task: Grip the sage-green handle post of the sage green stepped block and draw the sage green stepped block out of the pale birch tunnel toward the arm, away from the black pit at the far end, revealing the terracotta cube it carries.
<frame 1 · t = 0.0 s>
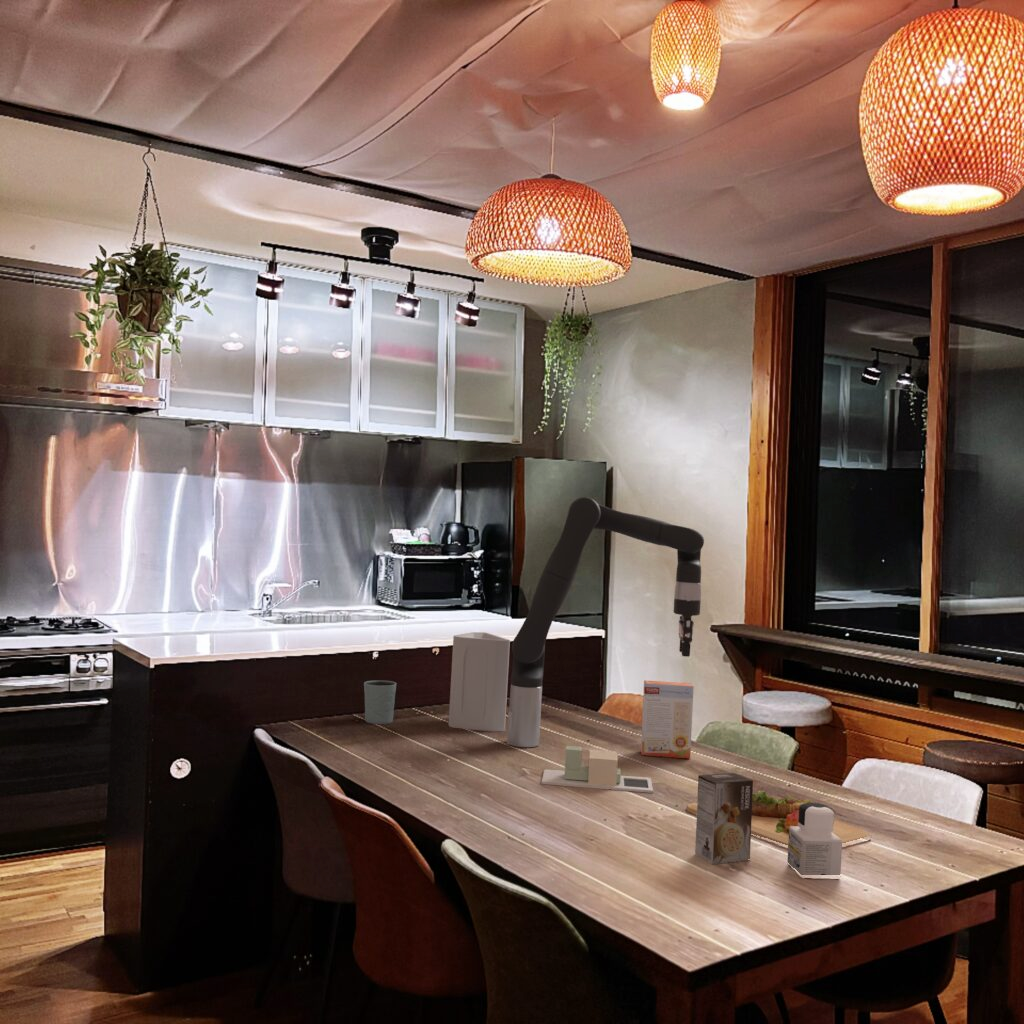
hand: (684, 654, 276), 29 cm above the table, tool pointing down, fingers open, 8 cm apart
container: (813, 873, 186), on the table
cracker box: (664, 755, 276), on the table
coffee box: (721, 858, 192), on the table
white base plate: (602, 782, 243), on the table
sage green stepped block: (593, 763, 243), point 4 cm above the table, slide at 0.0 cm
cutting board: (775, 827, 216), on the table
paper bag: (471, 725, 302), on the table
grey green cup: (378, 721, 301), on the table
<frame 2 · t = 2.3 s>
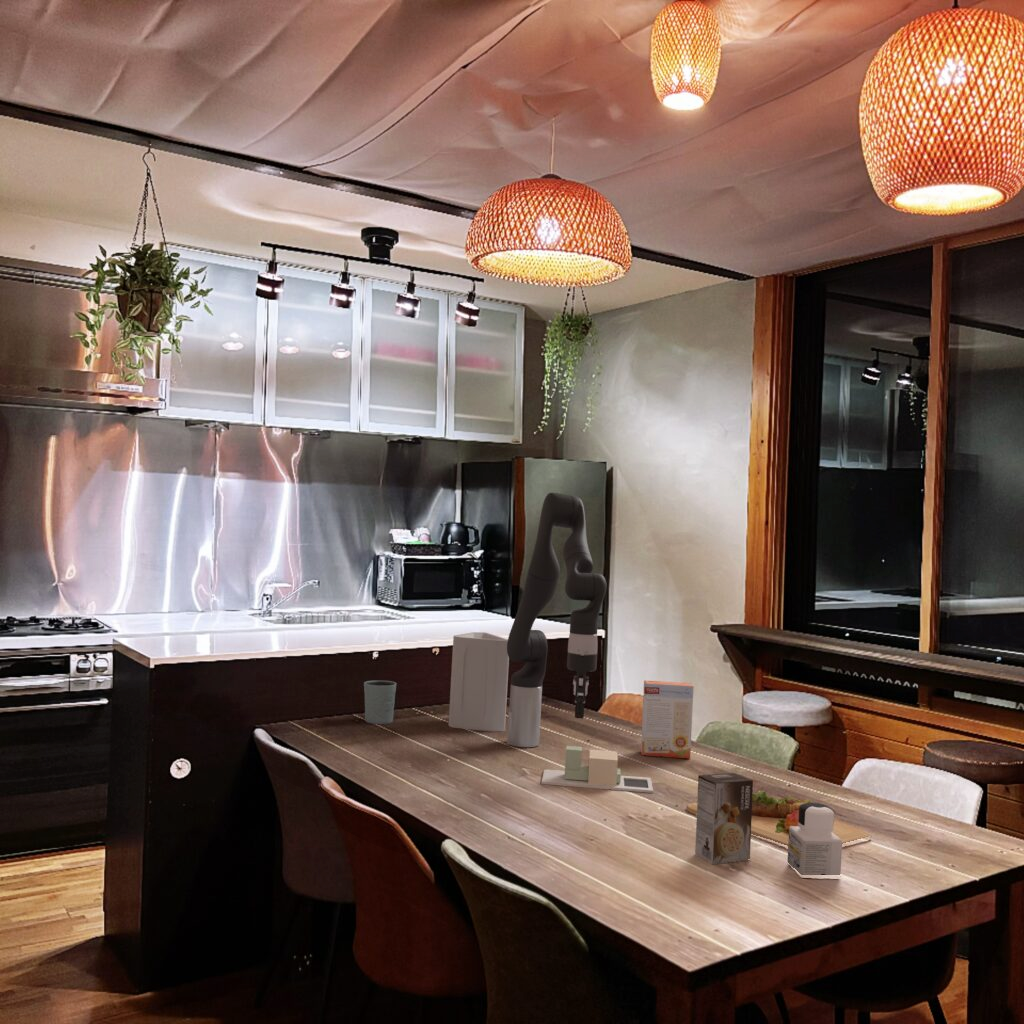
hand: (579, 714, 244), 17 cm above the table, tool pointing down, fingers open, 8 cm apart
nothing on the table moved.
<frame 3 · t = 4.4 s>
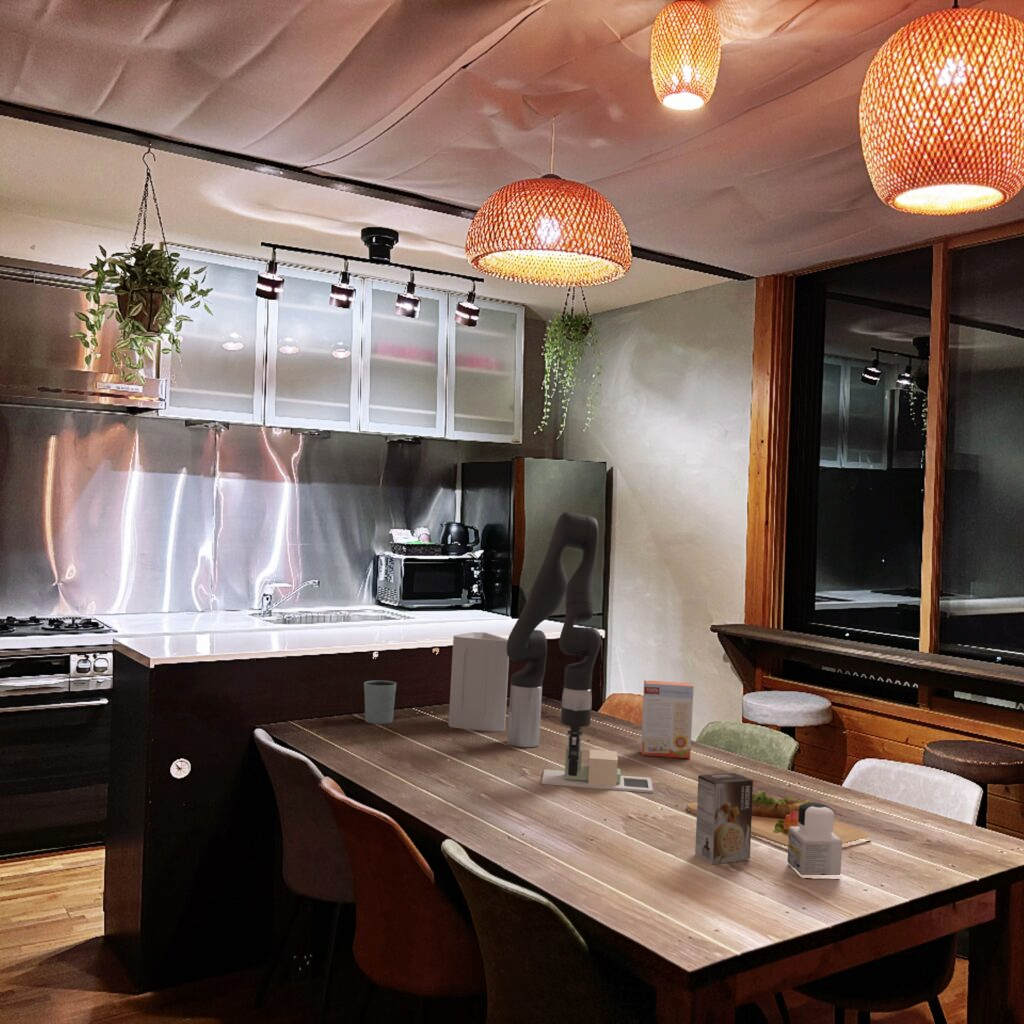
hand: (572, 771, 244), 2 cm above the table, tool pointing down, fingers closed on sage green stepped block, 6 cm apart
sage green stepped block: (593, 763, 243), point 4 cm above the table, slide at 0.0 cm, touching gripper
everything else where it was.
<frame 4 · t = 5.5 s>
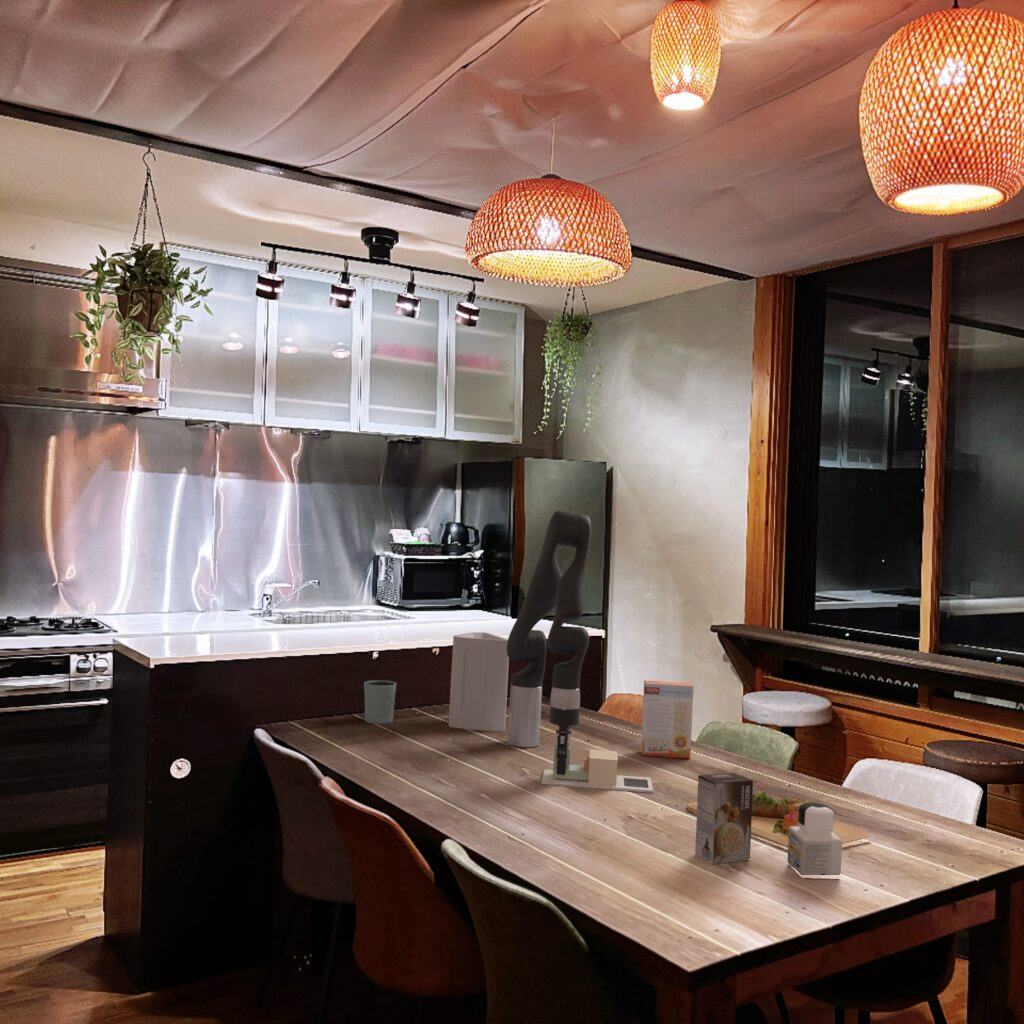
hand: (561, 770, 244), 2 cm above the table, tool pointing down, fingers closed on sage green stepped block, 6 cm apart
sage green stepped block: (581, 762, 244), point 4 cm above the table, slide at 2.9 cm, touching gripper
everything else where it was.
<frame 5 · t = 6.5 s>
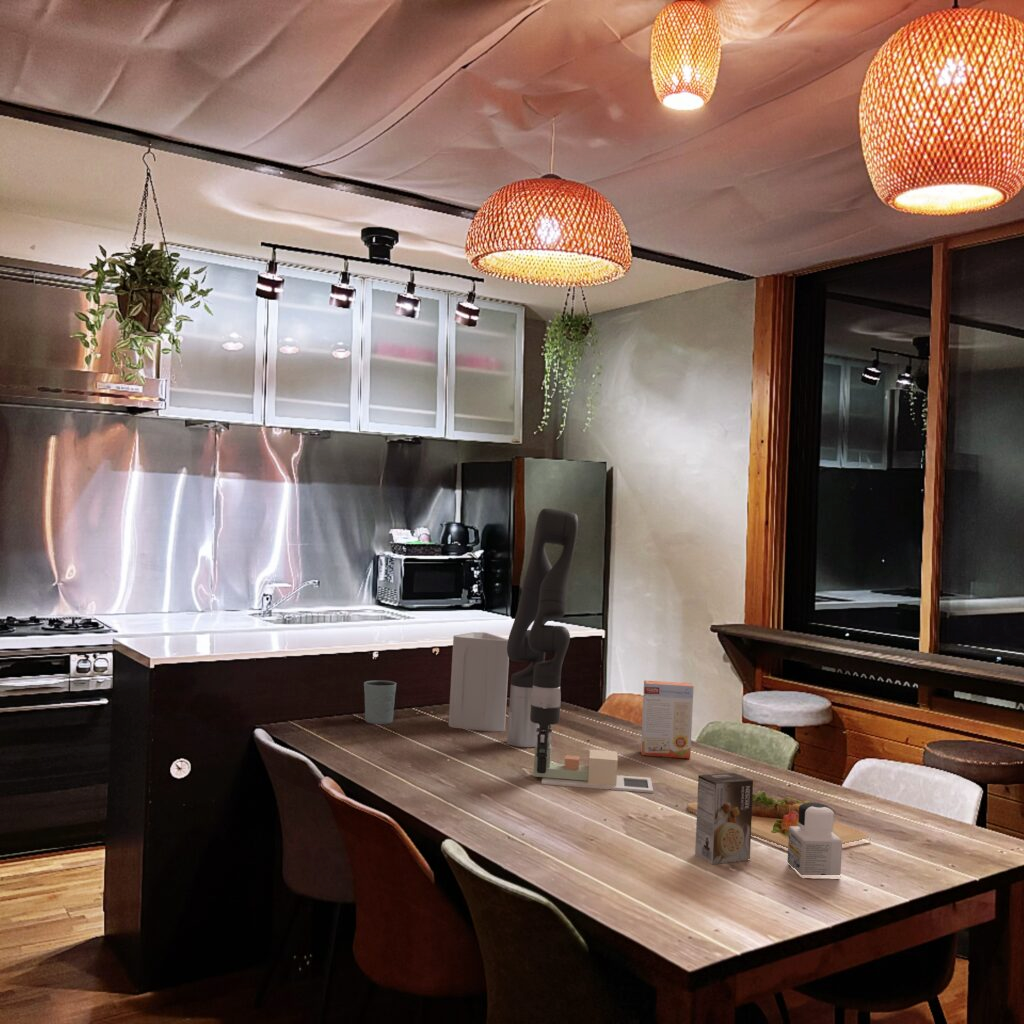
hand: (542, 769, 245), 2 cm above the table, tool pointing down, fingers closed on sage green stepped block, 6 cm apart
sage green stepped block: (562, 761, 244), point 4 cm above the table, slide at 7.9 cm, touching gripper
everything else where it was.
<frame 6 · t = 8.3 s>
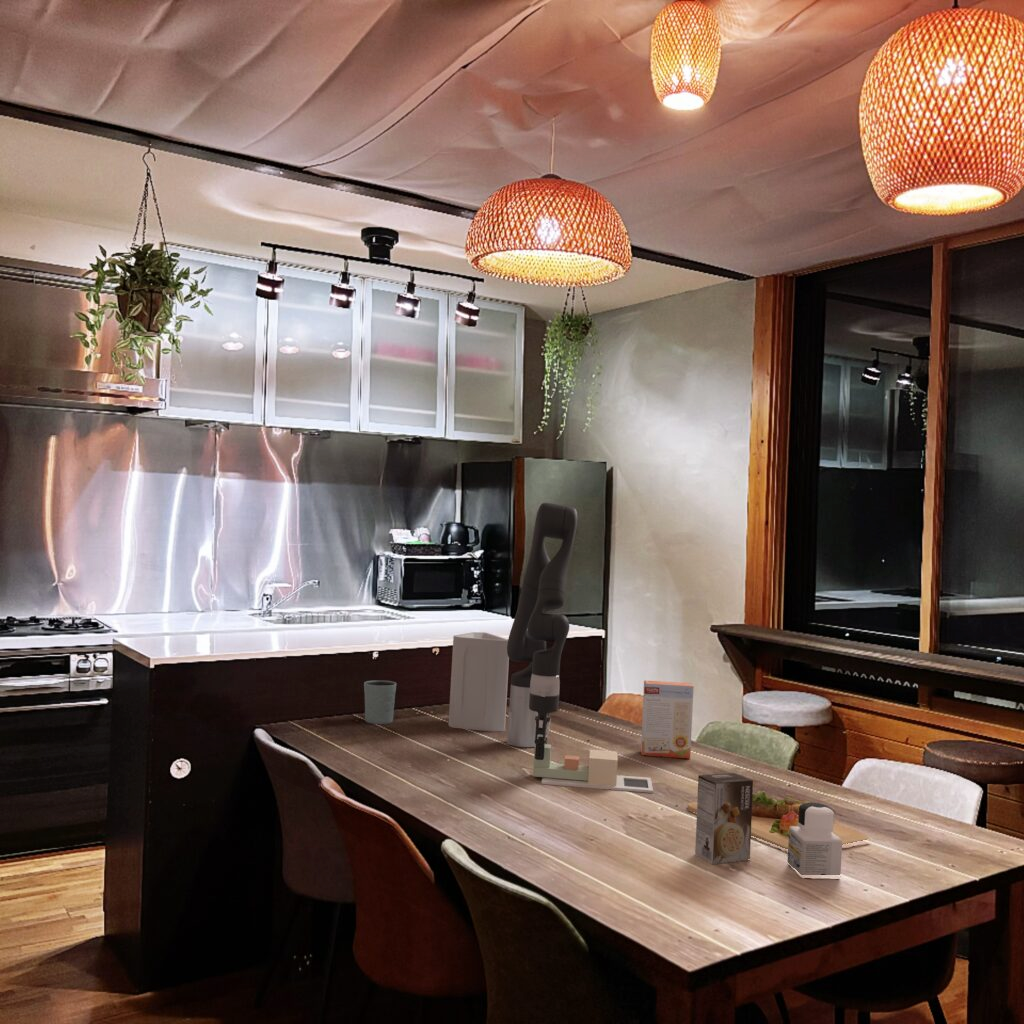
hand: (540, 755, 245), 6 cm above the table, tool pointing down, fingers open, 8 cm apart
sage green stepped block: (561, 761, 244), point 4 cm above the table, slide at 7.9 cm
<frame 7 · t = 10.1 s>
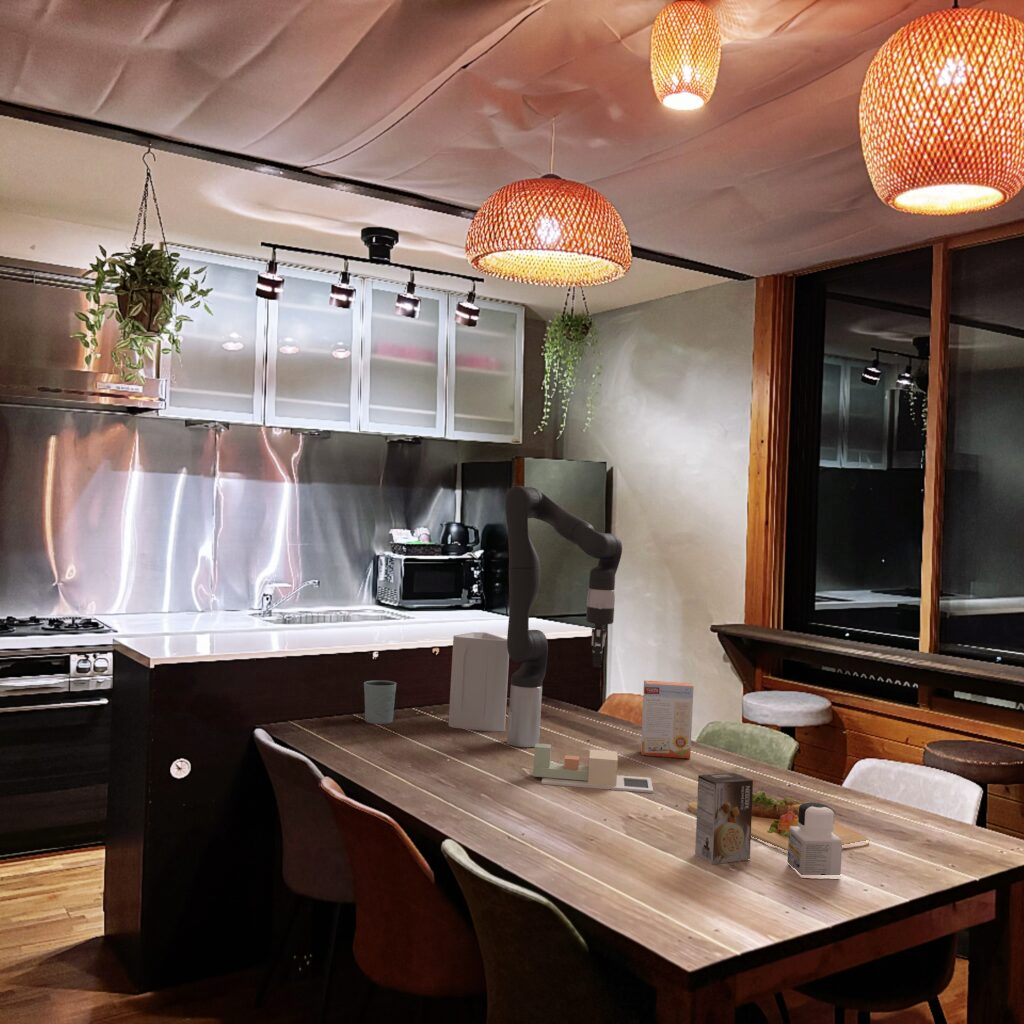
hand: (596, 664, 264), 27 cm above the table, tool pointing down, fingers open, 8 cm apart
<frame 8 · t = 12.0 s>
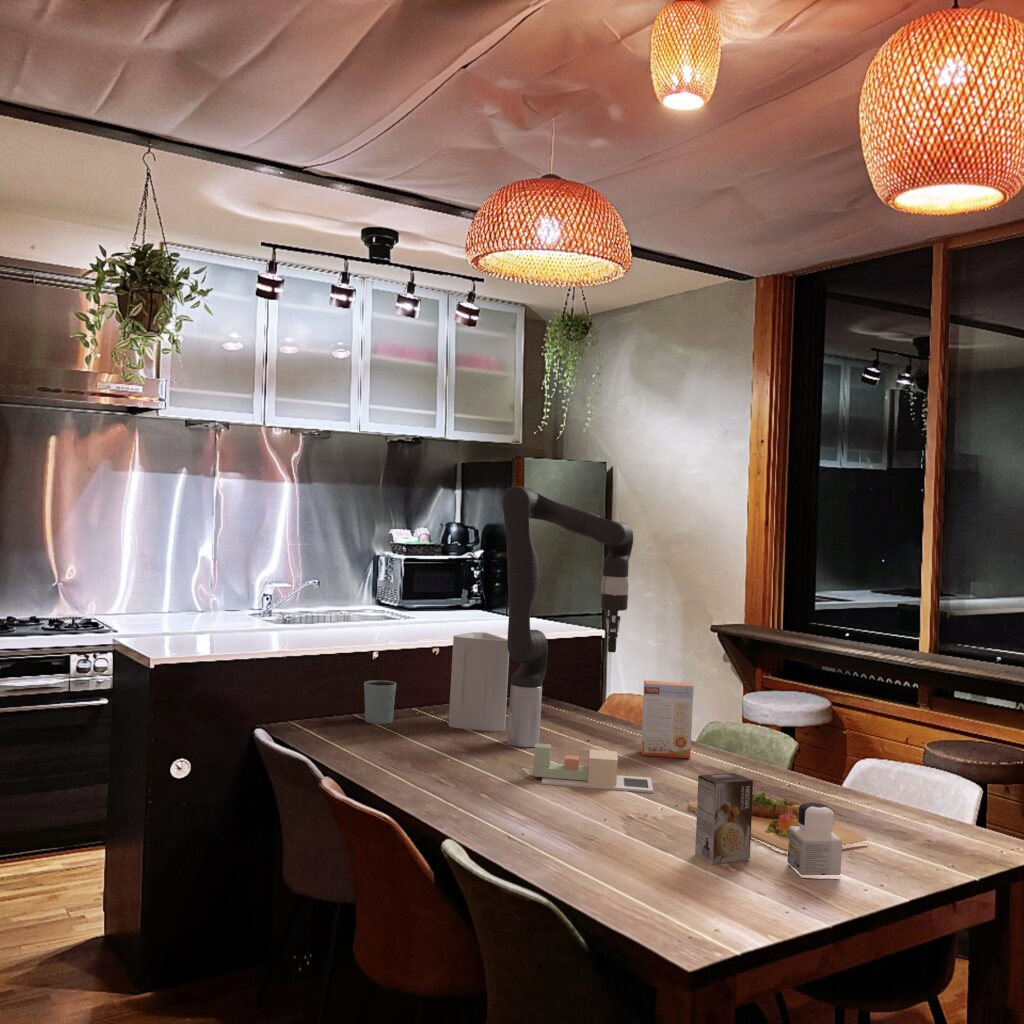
hand: (611, 650, 270), 30 cm above the table, tool pointing down, fingers open, 8 cm apart
at the end: sage green stepped block slide at 7.9 cm; the gripper is holding nothing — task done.
